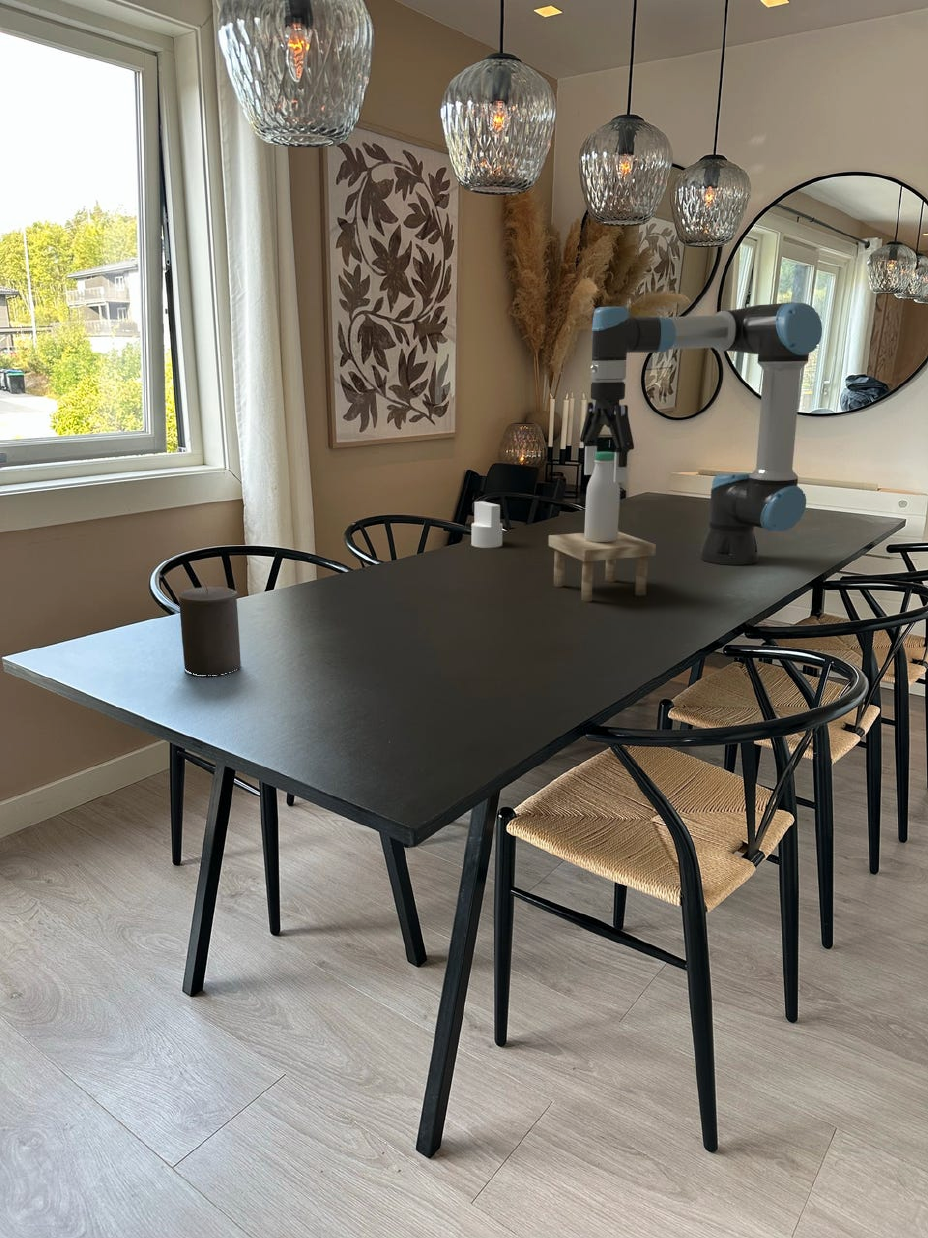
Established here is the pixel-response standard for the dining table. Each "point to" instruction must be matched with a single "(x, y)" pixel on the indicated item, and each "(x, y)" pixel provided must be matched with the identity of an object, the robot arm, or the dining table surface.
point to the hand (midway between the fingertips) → (604, 478)
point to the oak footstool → (600, 558)
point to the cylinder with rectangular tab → (486, 525)
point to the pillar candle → (210, 630)
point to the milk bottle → (602, 501)
